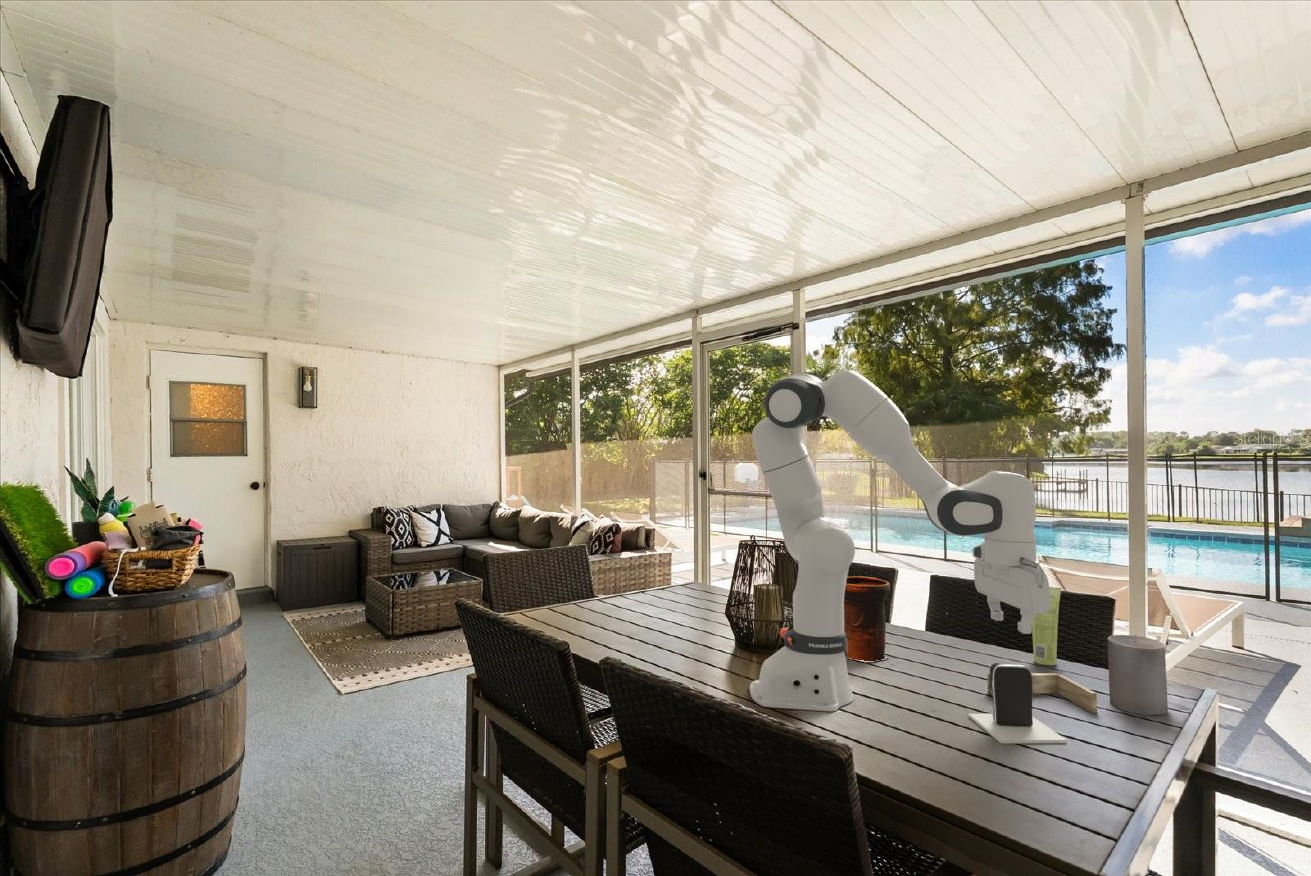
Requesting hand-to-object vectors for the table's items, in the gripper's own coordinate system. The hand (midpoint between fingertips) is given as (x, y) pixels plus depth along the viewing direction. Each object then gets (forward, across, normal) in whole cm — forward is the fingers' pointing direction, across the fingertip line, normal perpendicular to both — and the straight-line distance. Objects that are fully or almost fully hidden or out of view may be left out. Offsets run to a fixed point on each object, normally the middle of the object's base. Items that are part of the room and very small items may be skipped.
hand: (1010, 626), depth 121 cm
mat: (+20, 0, -1) cm, 20 cm away
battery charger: (+19, +1, -1) cm, 19 cm away
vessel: (+20, +47, +13) cm, 53 cm away
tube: (+19, +39, -31) cm, 53 cm away
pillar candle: (+19, +10, -32) cm, 39 cm away
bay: (+19, +13, -14) cm, 27 cm away
